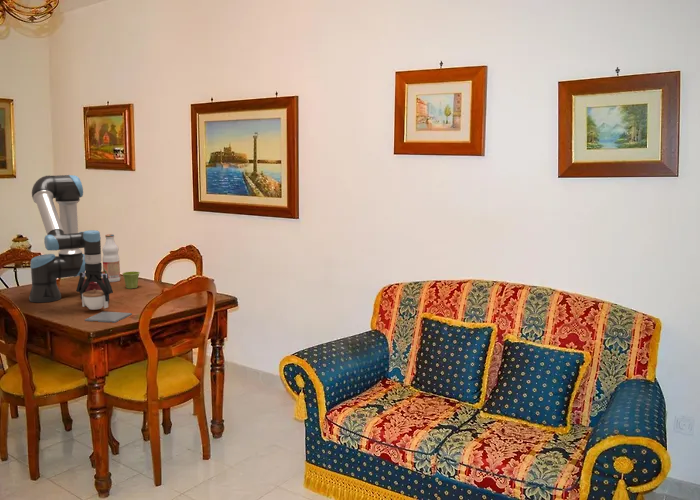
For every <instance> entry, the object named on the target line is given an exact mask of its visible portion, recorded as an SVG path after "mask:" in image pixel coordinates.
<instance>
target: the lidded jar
mask: <svg viewBox="0 0 700 500" xmlns="http://www.w3.org/2000/svg"><path fill="white" fill-rule="evenodd" d="M103 295H105V294H104V293H103V291H102V290H96V289H93V290H91V291H86V292H84V293H83V300H84V303H85V305H86V306H85V307H87V308H88V309H89V310H91V311H92V310H93V311H94V310H100V309H102V308H104V303H103Z"/></svg>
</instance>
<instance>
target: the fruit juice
mask: <svg viewBox="0 0 700 500" xmlns="http://www.w3.org/2000/svg"><path fill="white" fill-rule="evenodd" d="M101 252H102V253H103V255H102V271H103V273H102V274H108V279H109V282H110V283H115V282H120V280H121V266H120V256H119V246H118V245H117V243H116V242H115V234H112V233H108V234H105V243H104V245H103V246H102V248H101Z"/></svg>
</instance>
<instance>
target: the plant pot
mask: <svg viewBox="0 0 700 500" xmlns="http://www.w3.org/2000/svg"><path fill="white" fill-rule="evenodd" d="M140 273H141V272H139V271H125V272H122V275H123V279H124V284H125V288H126V289H129V290H131V289H137V288H138V284H139V276H140Z"/></svg>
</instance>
